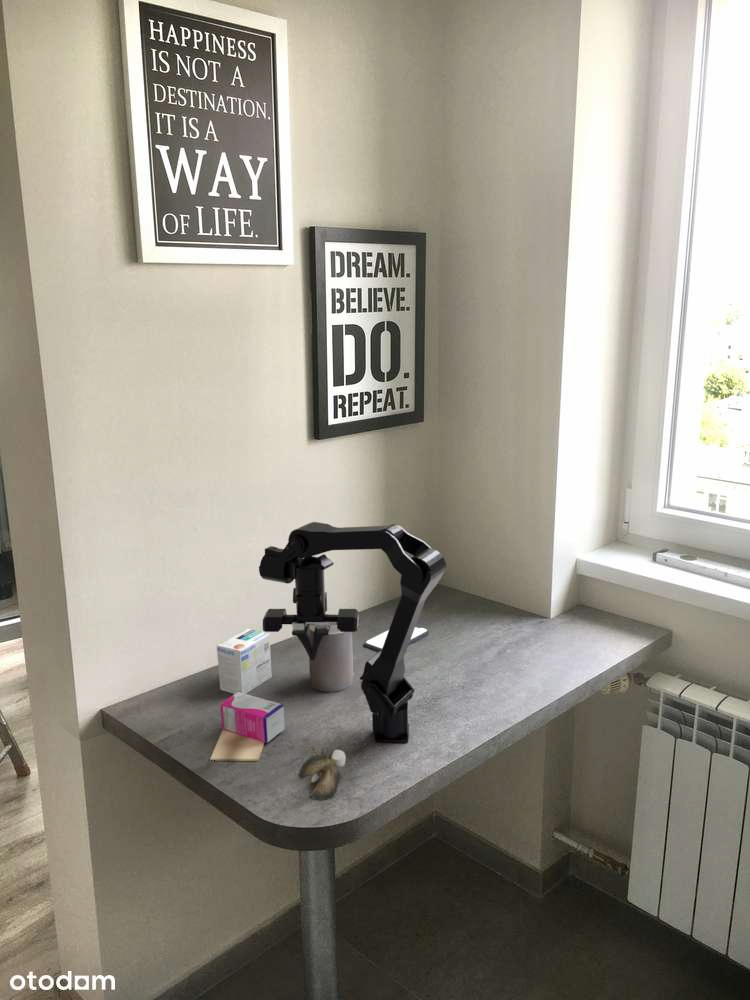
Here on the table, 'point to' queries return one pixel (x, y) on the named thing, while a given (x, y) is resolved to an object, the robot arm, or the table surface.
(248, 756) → the pale gold metal plate
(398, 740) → the robot arm
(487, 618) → the table surface
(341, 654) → the pillar candle
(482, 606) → the table surface
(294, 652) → the table surface
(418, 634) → the phone case
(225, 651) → the light bulb box
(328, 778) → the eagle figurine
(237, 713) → the supplement box
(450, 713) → the table surface
